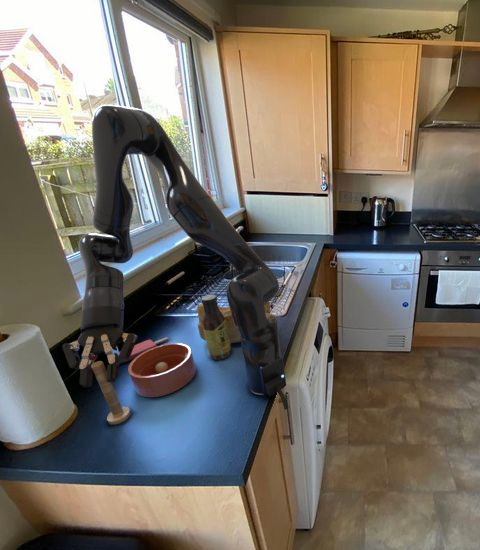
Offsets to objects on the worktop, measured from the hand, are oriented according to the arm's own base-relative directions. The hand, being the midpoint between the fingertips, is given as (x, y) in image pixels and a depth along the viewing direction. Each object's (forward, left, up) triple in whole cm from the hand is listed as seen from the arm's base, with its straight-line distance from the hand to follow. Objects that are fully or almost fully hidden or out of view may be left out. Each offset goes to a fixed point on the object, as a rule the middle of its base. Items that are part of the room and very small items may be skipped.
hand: (99, 384), depth 67 cm
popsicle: (+28, -12, -12) cm, 33 cm away
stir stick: (+2, -1, -12) cm, 12 cm away
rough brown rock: (+14, -38, -12) cm, 42 cm away
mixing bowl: (+8, -13, -12) cm, 19 cm away
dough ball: (+11, -13, -10) cm, 20 cm away
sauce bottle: (+8, -28, -12) cm, 31 cm away
